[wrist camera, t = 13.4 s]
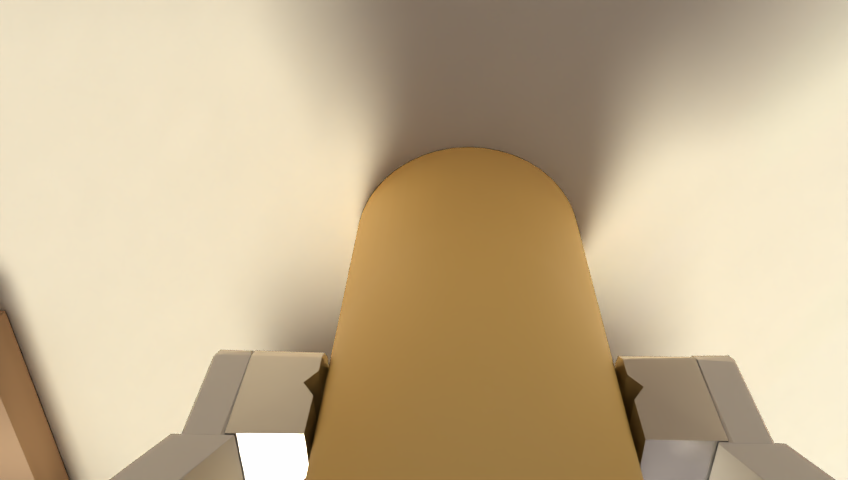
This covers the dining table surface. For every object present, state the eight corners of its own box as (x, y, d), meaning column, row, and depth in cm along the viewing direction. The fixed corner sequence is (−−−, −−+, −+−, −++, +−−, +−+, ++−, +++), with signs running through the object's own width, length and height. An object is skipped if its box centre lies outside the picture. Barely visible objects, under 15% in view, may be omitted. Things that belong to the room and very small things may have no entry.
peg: (349, 147, 13) (231, 574, 6) (588, 147, 13) (739, 584, 6) (363, 333, 15) (287, 803, 8) (568, 335, 15) (662, 816, 8)
